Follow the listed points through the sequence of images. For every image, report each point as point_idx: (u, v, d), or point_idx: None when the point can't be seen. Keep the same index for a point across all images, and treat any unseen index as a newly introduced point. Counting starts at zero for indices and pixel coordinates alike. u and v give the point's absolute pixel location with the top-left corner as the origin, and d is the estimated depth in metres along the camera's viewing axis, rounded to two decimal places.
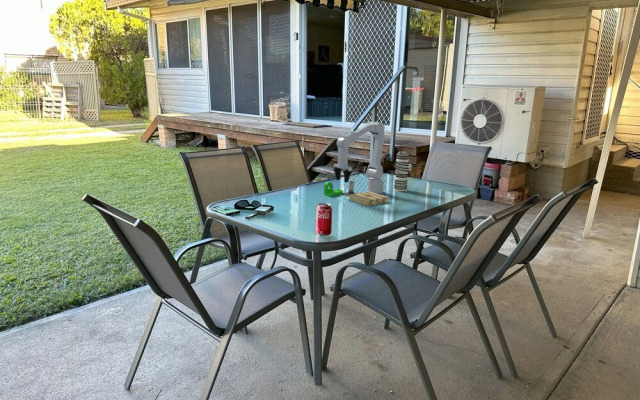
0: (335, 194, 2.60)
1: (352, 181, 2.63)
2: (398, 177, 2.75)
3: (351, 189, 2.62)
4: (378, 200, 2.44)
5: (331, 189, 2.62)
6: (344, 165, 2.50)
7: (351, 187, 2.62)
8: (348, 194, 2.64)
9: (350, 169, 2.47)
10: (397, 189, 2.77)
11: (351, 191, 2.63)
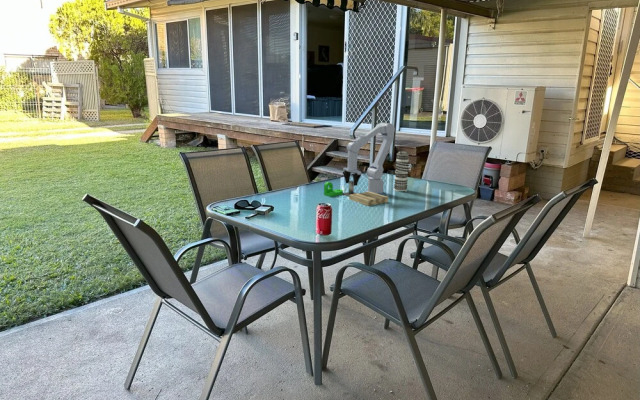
0: (335, 194, 2.60)
1: (352, 181, 2.63)
2: (398, 177, 2.75)
3: (351, 189, 2.62)
4: (378, 200, 2.44)
5: (331, 189, 2.62)
6: (353, 169, 2.58)
7: (351, 187, 2.62)
8: (348, 194, 2.64)
9: (359, 173, 2.55)
10: (397, 189, 2.77)
11: (351, 191, 2.63)
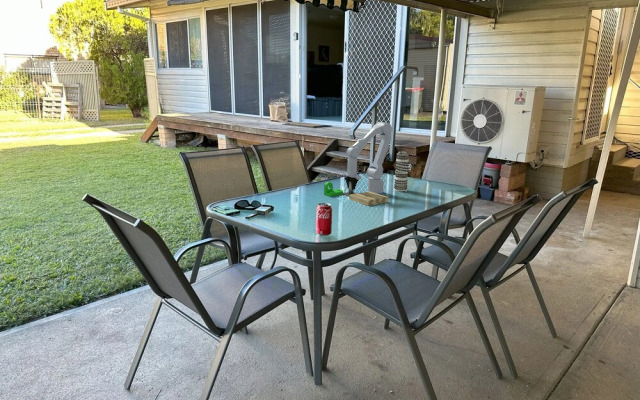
0: (335, 194, 2.60)
1: None
2: (398, 177, 2.75)
3: (351, 189, 2.62)
4: (378, 200, 2.44)
5: (331, 189, 2.62)
6: (353, 174, 2.59)
7: None
8: (348, 194, 2.64)
9: (359, 178, 2.56)
10: (397, 189, 2.77)
11: (351, 191, 2.63)
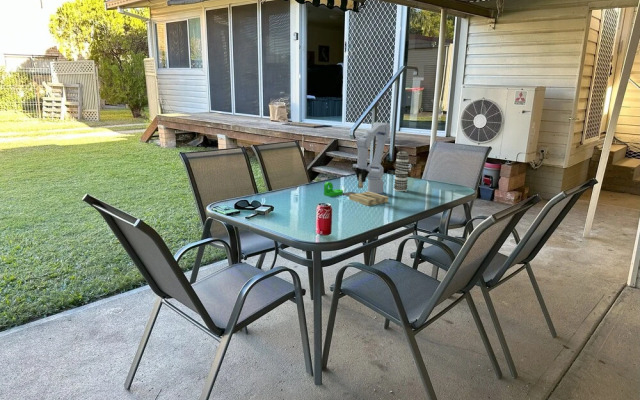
0: (335, 194, 2.60)
1: None
2: (398, 177, 2.75)
3: (361, 182, 2.53)
4: (378, 200, 2.44)
5: (331, 189, 2.62)
6: (364, 165, 2.49)
7: (361, 180, 2.53)
8: (348, 194, 2.64)
9: (370, 169, 2.46)
10: (397, 189, 2.77)
11: (361, 184, 2.53)
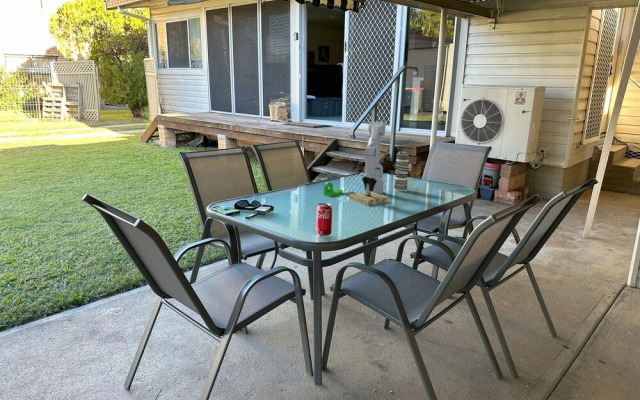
0: (335, 194, 2.60)
1: None
2: (398, 177, 2.75)
3: (368, 191, 2.48)
4: (378, 200, 2.44)
5: (331, 189, 2.62)
6: (371, 174, 2.44)
7: None
8: (348, 194, 2.64)
9: (378, 178, 2.42)
10: (397, 189, 2.77)
11: (368, 194, 2.48)
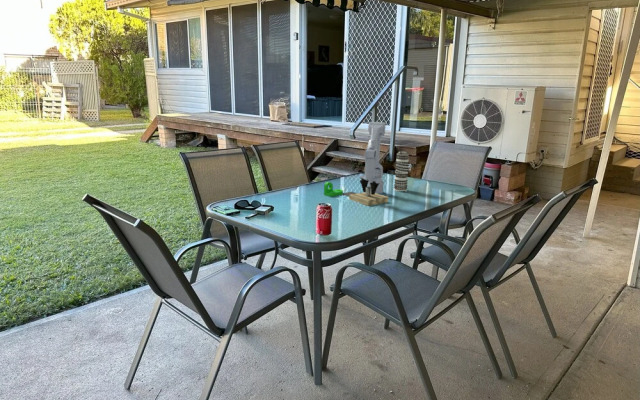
0: (335, 194, 2.60)
1: (369, 187, 2.49)
2: (398, 177, 2.75)
3: (368, 195, 2.48)
4: (378, 200, 2.44)
5: (331, 189, 2.62)
6: (371, 177, 2.45)
7: (368, 193, 2.48)
8: (348, 194, 2.64)
9: (378, 181, 2.42)
10: (397, 189, 2.77)
11: None
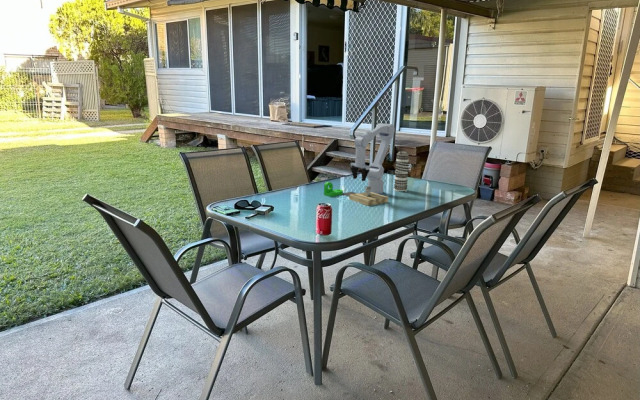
0: (335, 194, 2.60)
1: (369, 187, 2.49)
2: (398, 177, 2.75)
3: (368, 195, 2.49)
4: (378, 200, 2.44)
5: (331, 189, 2.62)
6: (362, 164, 2.53)
7: (368, 193, 2.48)
8: (348, 194, 2.64)
9: (368, 168, 2.50)
10: (397, 189, 2.77)
11: None
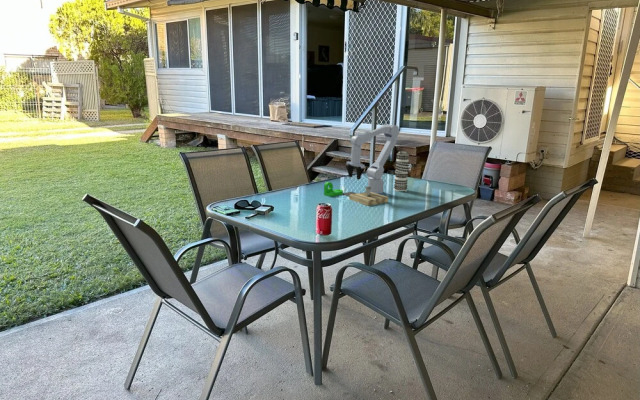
0: (335, 194, 2.60)
1: (369, 187, 2.49)
2: (398, 177, 2.75)
3: (368, 195, 2.48)
4: (378, 200, 2.44)
5: (331, 189, 2.62)
6: (357, 162, 2.57)
7: (368, 193, 2.48)
8: (348, 194, 2.64)
9: (363, 166, 2.55)
10: (397, 189, 2.77)
11: None
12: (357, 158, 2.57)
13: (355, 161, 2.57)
